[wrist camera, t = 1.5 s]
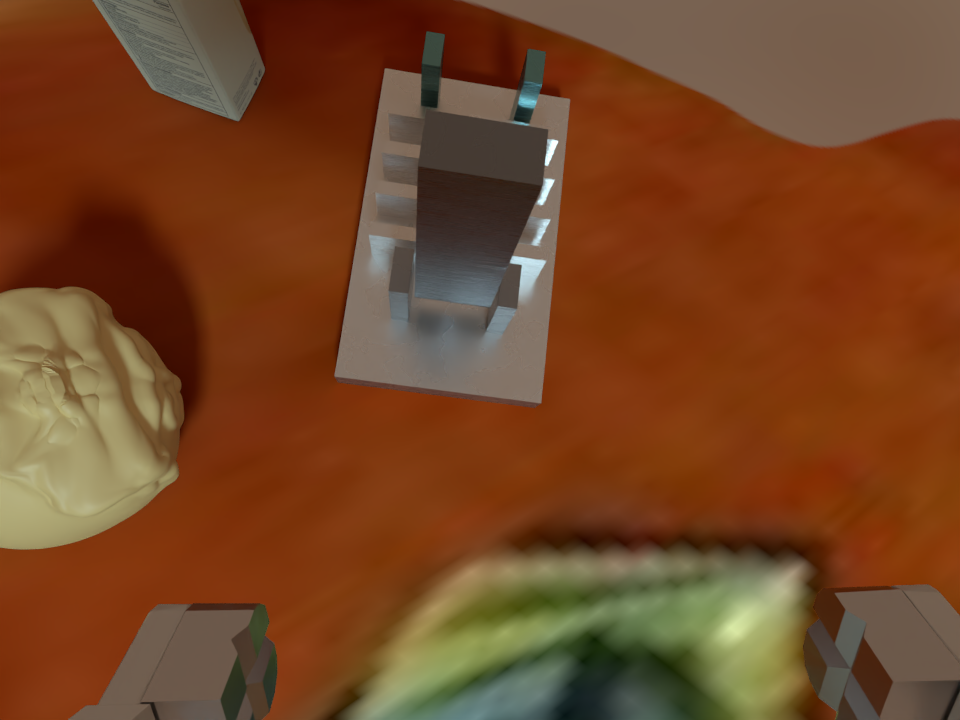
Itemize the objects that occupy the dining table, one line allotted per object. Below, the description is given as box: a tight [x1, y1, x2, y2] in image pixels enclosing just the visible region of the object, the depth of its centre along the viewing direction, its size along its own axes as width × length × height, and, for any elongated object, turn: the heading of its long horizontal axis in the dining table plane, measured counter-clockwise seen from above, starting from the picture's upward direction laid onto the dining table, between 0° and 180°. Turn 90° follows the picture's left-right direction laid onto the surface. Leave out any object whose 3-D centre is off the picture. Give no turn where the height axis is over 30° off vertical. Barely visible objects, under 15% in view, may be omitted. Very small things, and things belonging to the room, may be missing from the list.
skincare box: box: [93, 0, 265, 121], centre depth 37 cm, size 6×4×12 cm
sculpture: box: [0, 287, 184, 549], centre depth 32 cm, size 12×12×11 cm
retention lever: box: [414, 109, 548, 308], centre depth 28 cm, size 2×4×15 cm, turn 83°
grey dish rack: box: [334, 31, 570, 408], centre depth 38 cm, size 20×12×8 cm, turn 173°
